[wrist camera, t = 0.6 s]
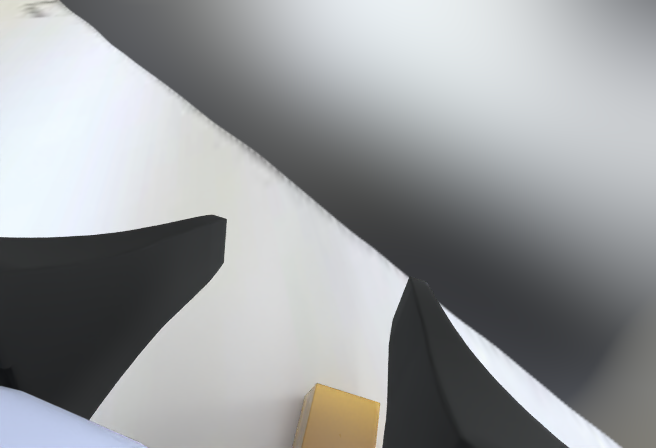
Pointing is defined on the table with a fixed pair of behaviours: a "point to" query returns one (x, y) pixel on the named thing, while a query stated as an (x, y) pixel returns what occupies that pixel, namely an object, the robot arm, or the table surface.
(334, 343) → the table surface
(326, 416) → the block
